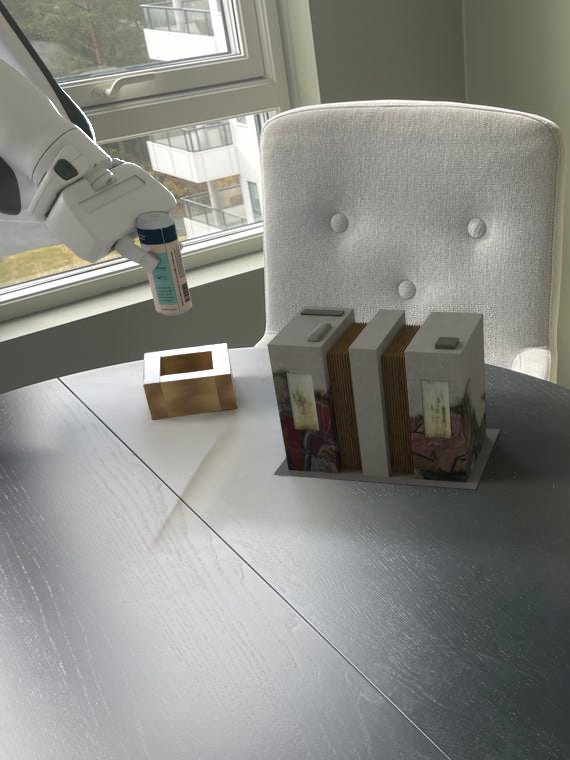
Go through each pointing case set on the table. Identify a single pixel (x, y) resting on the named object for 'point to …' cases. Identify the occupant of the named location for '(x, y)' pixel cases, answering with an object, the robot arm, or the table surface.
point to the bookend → (382, 397)
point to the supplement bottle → (165, 262)
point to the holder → (188, 381)
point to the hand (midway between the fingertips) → (167, 260)
